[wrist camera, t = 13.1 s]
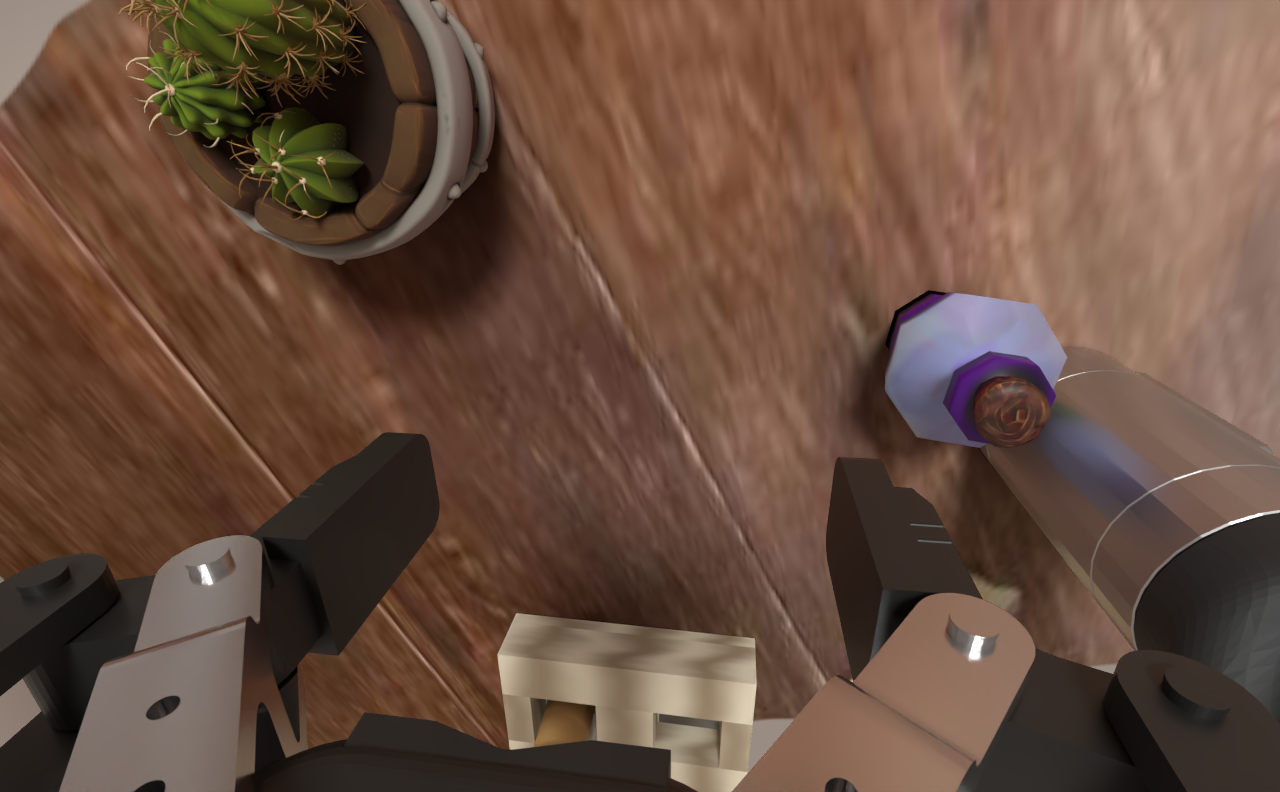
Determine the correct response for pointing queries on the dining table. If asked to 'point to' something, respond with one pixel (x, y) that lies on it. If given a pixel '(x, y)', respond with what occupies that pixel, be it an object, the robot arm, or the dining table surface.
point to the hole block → (637, 690)
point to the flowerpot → (323, 113)
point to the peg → (564, 723)
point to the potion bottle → (972, 369)
